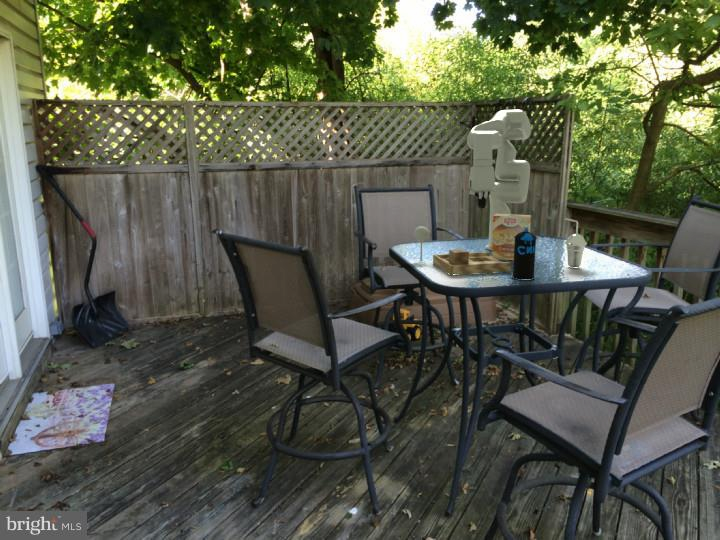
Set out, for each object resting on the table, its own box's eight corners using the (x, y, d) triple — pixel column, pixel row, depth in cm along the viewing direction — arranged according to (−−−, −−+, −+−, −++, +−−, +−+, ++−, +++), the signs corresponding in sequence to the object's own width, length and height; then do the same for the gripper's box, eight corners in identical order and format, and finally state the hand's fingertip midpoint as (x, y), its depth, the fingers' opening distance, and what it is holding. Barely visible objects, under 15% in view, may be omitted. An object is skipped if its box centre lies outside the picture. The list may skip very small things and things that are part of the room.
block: (462, 263, 236) (463, 248, 234) (468, 266, 230) (469, 251, 229) (448, 264, 235) (449, 249, 233) (454, 267, 229) (454, 252, 227)
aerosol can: (509, 275, 225) (511, 224, 220) (529, 275, 225) (532, 224, 221) (516, 281, 217) (519, 228, 212) (537, 280, 217) (541, 227, 213)
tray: (488, 260, 252) (488, 251, 251) (510, 272, 230) (511, 262, 230) (433, 263, 247) (433, 254, 246) (450, 275, 226) (450, 265, 225)
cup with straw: (574, 270, 232) (578, 221, 227) (557, 266, 240) (560, 218, 235) (589, 268, 236) (593, 219, 231) (572, 264, 243) (575, 216, 239)
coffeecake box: (491, 259, 254) (492, 215, 250) (494, 256, 261) (496, 213, 256) (526, 262, 248) (528, 216, 244) (528, 258, 254) (531, 214, 250)
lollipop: (430, 258, 257) (431, 225, 254) (427, 262, 251) (427, 227, 247) (415, 257, 260) (415, 224, 256) (411, 261, 253) (411, 227, 250)
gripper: (495, 161, 242) (494, 205, 247) (461, 163, 239) (461, 207, 244) (503, 163, 235) (502, 208, 240) (468, 165, 232) (468, 210, 237)
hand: (481, 207), depth 242 cm, fingers closed
